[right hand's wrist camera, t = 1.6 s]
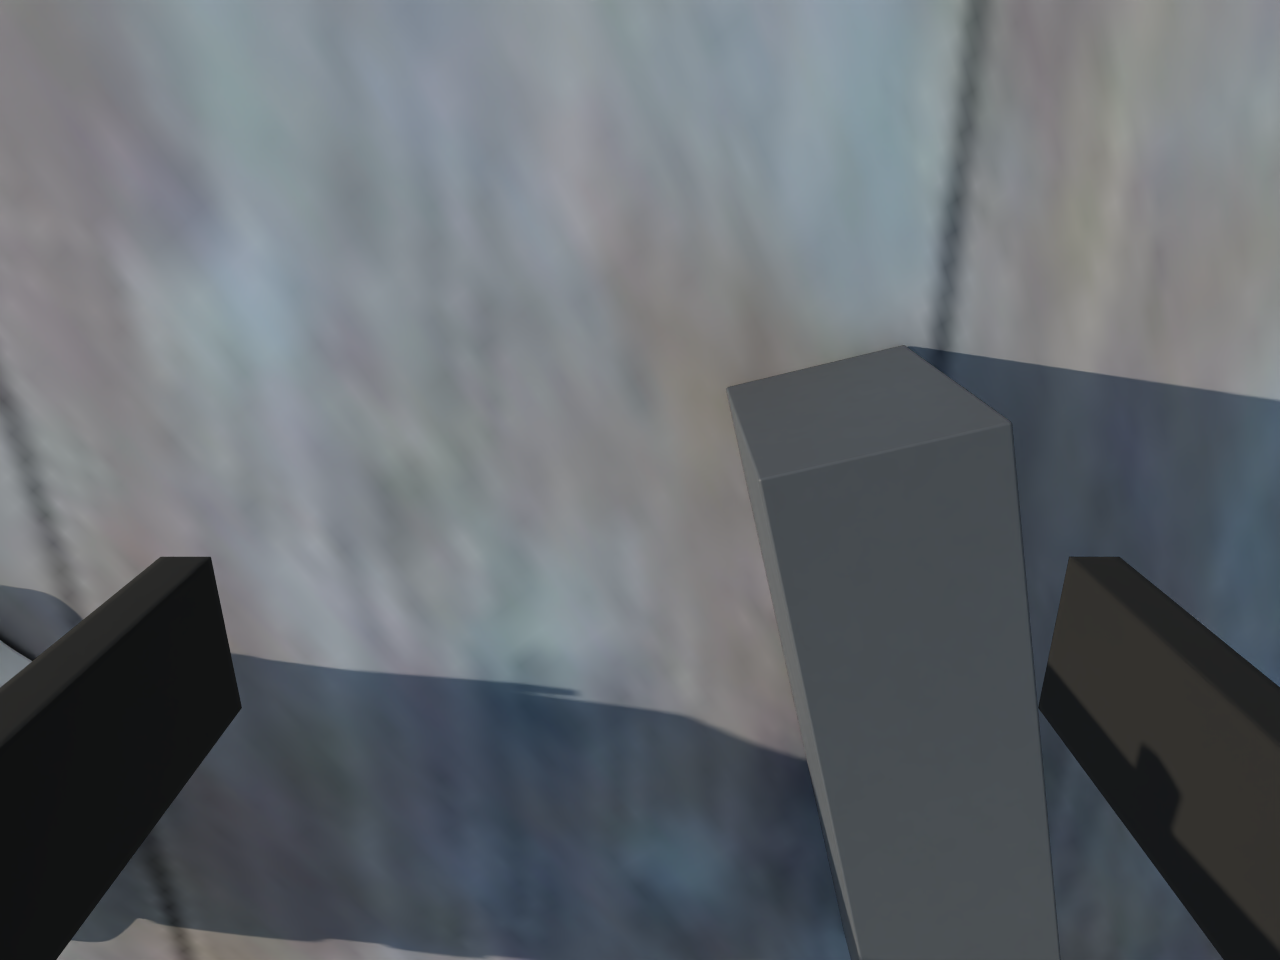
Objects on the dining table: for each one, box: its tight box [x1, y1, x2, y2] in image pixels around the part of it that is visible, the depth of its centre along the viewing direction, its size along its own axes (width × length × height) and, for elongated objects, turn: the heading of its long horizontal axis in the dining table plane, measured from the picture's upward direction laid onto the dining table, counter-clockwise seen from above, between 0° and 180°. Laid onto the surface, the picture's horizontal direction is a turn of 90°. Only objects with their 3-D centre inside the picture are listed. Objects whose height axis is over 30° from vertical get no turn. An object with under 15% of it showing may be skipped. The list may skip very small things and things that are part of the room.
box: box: [726, 345, 1061, 960], centre depth 29 cm, size 27×6×9 cm, turn 14°
